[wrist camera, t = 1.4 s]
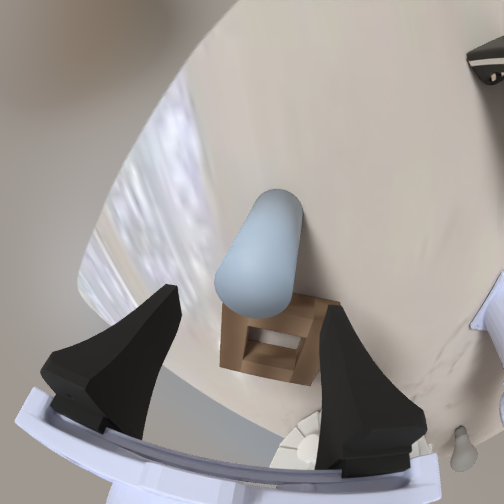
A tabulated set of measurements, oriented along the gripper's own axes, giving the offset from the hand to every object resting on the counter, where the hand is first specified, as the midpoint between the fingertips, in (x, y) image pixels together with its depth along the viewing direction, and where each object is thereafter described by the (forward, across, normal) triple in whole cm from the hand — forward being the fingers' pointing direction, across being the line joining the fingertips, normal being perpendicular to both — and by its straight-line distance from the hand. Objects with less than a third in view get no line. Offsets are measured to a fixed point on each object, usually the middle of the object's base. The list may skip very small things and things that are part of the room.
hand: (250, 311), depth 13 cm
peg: (+11, -1, 0) cm, 11 cm away
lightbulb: (+8, -44, +39) cm, 59 cm away
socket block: (+11, -2, +13) cm, 17 cm away
